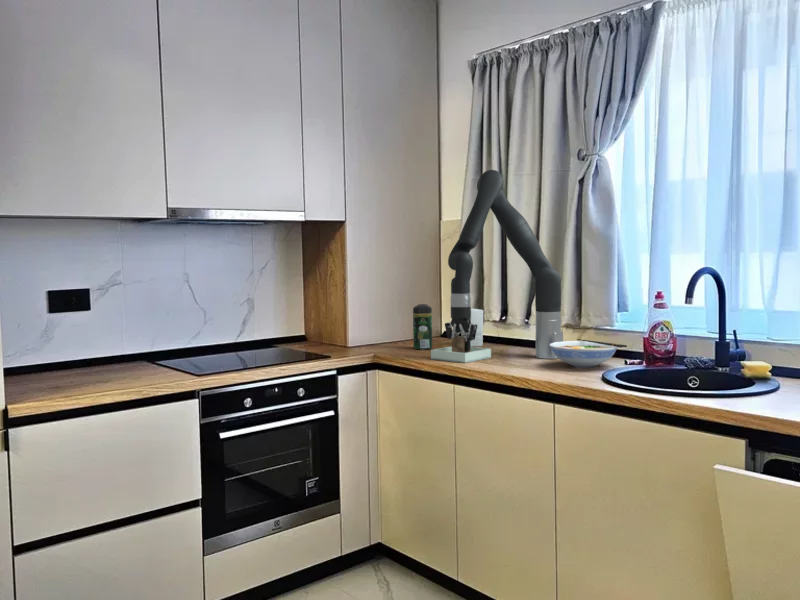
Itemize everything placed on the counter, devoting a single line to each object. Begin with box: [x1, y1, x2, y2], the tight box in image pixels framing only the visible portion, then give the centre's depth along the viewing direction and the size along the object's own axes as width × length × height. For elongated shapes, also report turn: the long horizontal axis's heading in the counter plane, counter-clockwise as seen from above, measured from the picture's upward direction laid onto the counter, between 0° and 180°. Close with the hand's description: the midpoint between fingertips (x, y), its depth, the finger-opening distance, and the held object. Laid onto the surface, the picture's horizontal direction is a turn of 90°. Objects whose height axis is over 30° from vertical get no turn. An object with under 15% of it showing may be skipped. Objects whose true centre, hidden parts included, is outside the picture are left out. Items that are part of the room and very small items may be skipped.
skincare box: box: [460, 307, 484, 347], centre depth 294 cm, size 8×7×16 cm
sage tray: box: [430, 345, 492, 364], centre depth 256 cm, size 16×16×4 cm
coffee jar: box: [412, 303, 433, 351], centre depth 286 cm, size 10×8×19 cm
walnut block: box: [451, 335, 471, 353], centre depth 256 cm, size 5×5×6 cm
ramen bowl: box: [550, 338, 628, 369], centre depth 234 cm, size 25×23×8 cm
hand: (461, 350), depth 256 cm, fingers closed on walnut block, 5 cm apart
